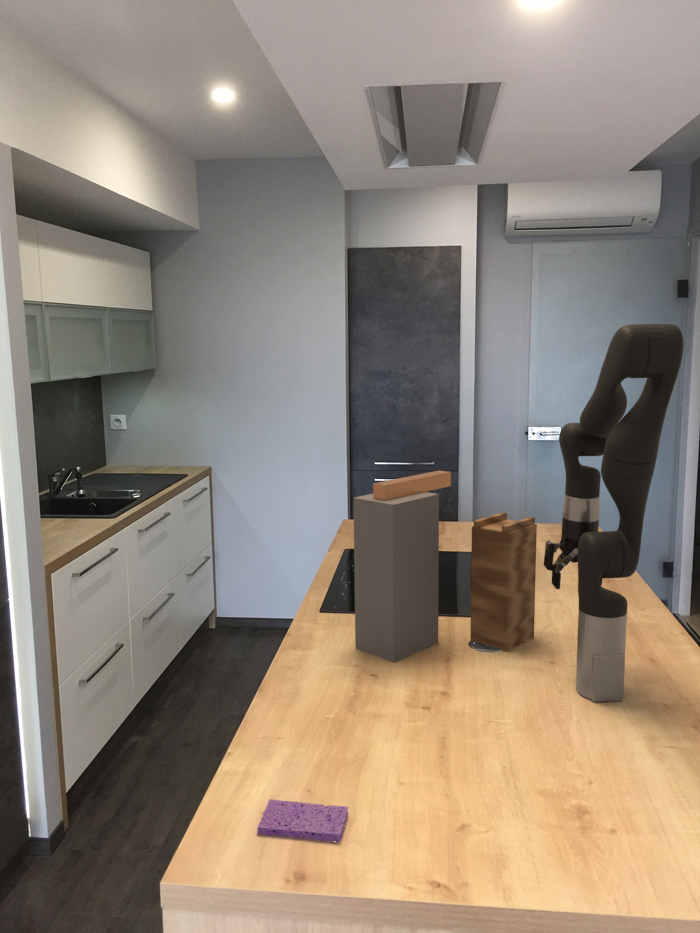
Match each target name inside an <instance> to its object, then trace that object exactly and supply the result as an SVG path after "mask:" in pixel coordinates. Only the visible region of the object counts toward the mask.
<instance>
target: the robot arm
mask: <svg viewBox="0 0 700 933" xmlns="http://www.w3.org/2000/svg"><path fill="white" fill-rule="evenodd" d="M683 354H684V335H683V332H682V329H680V327H678V325H677V324H676V325H675V324H672V323H634V324H633V323H632V324H626V325H622V326H621V327H618V329H617V330H616V331H615V333H614V334H613V336H612V338H611V340H610V342H609V346H608V347H607V351H606V354H605V356H604V360H603V363H602V366H601V367H600V368H601V369H600V372H599V375H598V379H597V382H596V385H595V388H594V390H593V393H592V395H591V396H590V398H589V400H588V401H587V403H586V405H585V406H584V408H583V410H582V411H581V414H580V416H579V422H568V423H566V424H565V425H563V427H562V428H561V430H560V432H559V434H558V442H559V447H560V451H561V455H562V459H563V464H564V470H565V471H564V472H565V486H564V487H565V488H564V489H565V490H564V499H563V504H562V511H561V514H562V517H561V518H562V519H561V538H560V541H559V542H553V541H551V540H547V541H546V542H545V548H544V558H543V566H544V568H546V570H547V571H551V585H552V586H553V588H554V589H556V590H561V577H562V573H561V571H562V570H563V569H564V568H565V567H566V566H568V564H570V563H573V564H574V563H577V596H578V618H577V620H578V621H577V638H576V639H577V641H576V642H577V645H576V647H577V648H576V676H575V678H576V679H575V690H576V692H577V694H579V695H581V696H583V697H584V698H587V699H590V700H591V702H595V703H596V702H615V701H616V702H617V701H618V702H619V701H624V688H625V670H626V669H625V668H626V667H625V665H626V645H627V643H626V641H627V626H628V625H627V620H628V600H627V598H626V597H625V596H624V595H622V594H620V593H619V592H617V591H613V590H611V589H607V588H604V587H602V585H603V579H622V578H629V577H631V576H633V575H634V574H635V572H636V570H637V568H638V565H639V561H640V554H641V545H642V537H643V536H642V535H643V527H644V526H643V525H644V521H645V520H644V518H645V514H646V513H645V511H646V506H647V501H648V496H649V492H650V488H651V484H652V479H653V477H654V473H655V468H656V463H657V460H658V459H657V458H658V452H659V448H660V447H659V446H660V441H661V437H662V436H661V435H662V431H663V425H664V423H665V419H666V418H665V417H666V415H667V410H668V406H669V404H670V401H671V398H672V395H673V391H674V388H675V384H676V381H677V378H678V376H679V370H680V368H681V364H682V361H683ZM628 378H629V379H646V381H645V383H644V386H643V389H642V391H641V393H640V395H639V398H638V399H637V401H636V402H635V404H634V405H633V406H632V407H631V408H630V409H629V410H628V412H627V413H626V410H627V408H628V399H627V394H626V392H625V389H624V387H623V385H622V383H623V381H624V380H625V379H628ZM625 413H626V414H625ZM600 456H602V460H601V467H600V469H598V468H596V467H592V466H588V465H583V464H581V462H580V461H579V460H580V459H579V458H580V457H600ZM601 478H602V479H601ZM601 480H602V482H603V484H604V485H605V488H606V489H607V490H606V491H608V493H609V495H610V497H611V498H612V500H613V502H614V503H615V507H616V508H617V511H618V513H619V522H618V523H619V525H618V528H617V530H615V531H614V530H612V531H611V530H610V531H608V530H607V531H605V530H604V531H599V530H600V529H599V528H600V527H599V526H600V512H601V503H600V502H601V501H600V492H601V491H600V490H601ZM559 549H560V551H561V553H560V554H559V555H558V556H557V559H556V560H555V561H554V557H555V554H556V553H557V551H558V550H559Z"/></svg>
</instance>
